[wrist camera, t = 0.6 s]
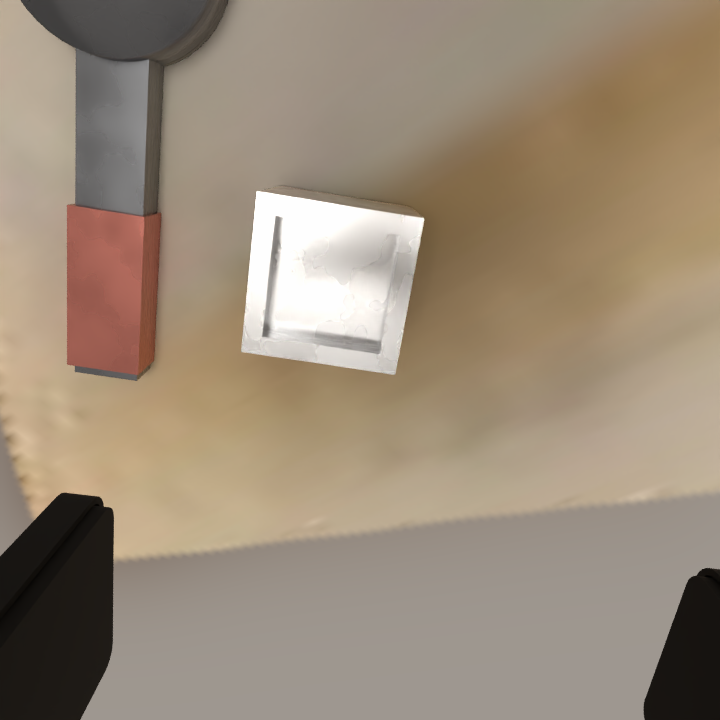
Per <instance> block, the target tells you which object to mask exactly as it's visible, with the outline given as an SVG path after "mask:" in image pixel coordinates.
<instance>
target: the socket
mask: <svg viewBox="0 0 720 720" xmlns="http://www.w3.org/2000/svg"><path fill="white" fill-rule="evenodd" d="M423 223H424V218H423V217H422V216H421V215H420V214H419V213H418V212H416V211H415V210H414V209H413V208H412V207H410V206H404V205H397V204H391V203H385V202H379V201H373V200H367V199H361V198H355V197H348V196H342V195H336V194H330V193H324V192H318V191H312V190H305V189H299V188H293V187H287V186H277V187H273V188H269V189H264V190H260V191H257V195H256V205H255V215H254V226H253V236H252V246H251V256H250V267H249V277H248V287H247V297H246V308H245V318H244V328H243V338H242V349H241V352H246V353H253V354H260V355H266V356H273V357H280V358H286V359H293V360H300V361H306V362H313V363H320V364H326V365H333V366H339V367H346V368H353V369H359V370H366V371H373V372H379V373H386V374H393V375H395V373H396V367H397V362H398V357H399V351H400V346H401V341H402V335H403V330H404V325H405V319H406V314H407V309H408V303H409V298H410V293H411V287H412V282H413V277H414V271H415V266H416V261H417V255H418V250H419V245H420V239H421V234H422V228H423Z"/></svg>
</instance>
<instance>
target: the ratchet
mask: <svg viewBox="0 0 720 720" xmlns="http://www.w3.org/2000/svg"><path fill="white" fill-rule="evenodd" d="M21 2H22V3H23V4H24V6H25V7H26V9H27V10H28V11H29V12H30V13H31V14H32V15H33V16H34V18H35V19H36V20H37V21H38V22H39V23H40V24H41V25H43V26H44V27H45V28H46V29H47V30H48V31H49V32H51V33H52V34H53V35H55V36H56V37H58V38H59V39H60V40H62V41H64V42H65V43H67V44H69V45H71V46H73V47H75V48H76V198H75V204H70V205H67V365H73V366H75V372H80V373H87V374H94V375H101V376H107V377H114V378H121V379H128V380H135V381H137V380H138V379H139V378H140V377H141V376H142V375H143V374H144V373H146V372H147V371H148V370H149V369H150V364H151V363H152V362H153V361H154V351H155V331H156V310H157V289H158V269H159V248H160V227H161V213H157V207H158V185H159V164H160V142H161V120H162V99H163V77H164V66H168V65H171V64H174V63H177V62H179V61H181V60H183V59H184V58H186V57H188V56H190V55H191V54H192V53H194V52H195V51H196V50H198V49H199V48H200V47H201V46H202V45H203V44H204V43H205V42H206V41H207V40H208V39H209V37H210V36H211V35H212V33H213V32H214V31H215V29H216V28H217V26H218V24H219V22H220V20H221V19H222V17H223V14H224V11H225V9H226V6H227V4H228V0H21Z"/></svg>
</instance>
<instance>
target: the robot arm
mask: <svg viewBox="0 0 720 720" xmlns="http://www.w3.org/2000/svg"><path fill="white" fill-rule="evenodd" d="M113 544H114V514H113V510H112V509H111V508H109V507H104V506H103V501H102V499H101V498H100V497H97V496H88V495H80V494H71V493H61V494H60V495H58V496H57V497H56V498H55V499H54V500H53V501H52V502H51V503H50V505H49V506H48V507H47V508H46V509H45V510H44V511H43V512H42V513H41V514H40V515H39V516H38V517H37V518H36V519H35V520H34V521H33V522H32V523H31V525H30V526H29V527H28V528H27V529H26V530H25V531H24V532H23V533H22V534H21V535H20V536H19V537H18V538H17V539H16V540H15V541H14V543H13V544H12V545H11V546H10V547H9V548H8V549H7V550H6V551H5V552H4V553H3V554H2V555H1V556H0V720H80V719H81V717H82V715H83V713H84V711H85V709H86V707H87V705H88V704H89V702H90V700H91V698H92V696H93V694H94V692H95V690H96V688H97V686H98V684H99V682H100V680H101V678H102V677H103V674H104V673H105V671H106V668H107V666H108V663H109V660H110V656H111V652H112V644H113ZM644 718H645V720H720V569H710V568H705V569H702V570H701V571H700V572H699V573H698V574H697V576H693V577H691V578H690V579H689V580H688V582H687V584H686V587H685V590H684V593H683V595H682V598H681V601H680V604H679V606H678V609H677V612H676V615H675V618H674V620H673V623H672V626H671V629H670V632H669V634H668V637H667V640H666V643H665V645H664V648H663V651H662V654H661V657H660V659H659V662H658V665H657V668H656V670H655V674H654V676H653V679H652V682H651V685H650V687H649V690H648V693H647V696H646V698H645V702H644Z"/></svg>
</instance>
